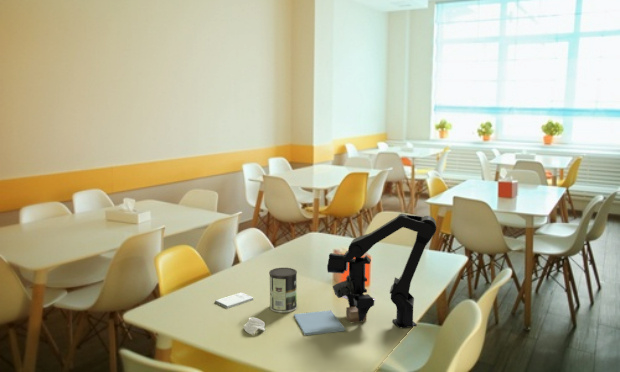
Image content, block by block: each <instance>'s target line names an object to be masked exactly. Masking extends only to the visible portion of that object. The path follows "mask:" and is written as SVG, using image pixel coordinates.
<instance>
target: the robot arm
mask: <svg viewBox="0 0 620 372" xmlns="http://www.w3.org/2000/svg"><path fill="white" fill-rule="evenodd" d="M402 228H403V229H404V228H405V229H408V230H411V231H413V232H415V233H416V237H415V241H414V243H413V246H412V247H411V248H412V249H411V250H410V253H409V256H408V258H407V261H406V263H405V266H404V268H403V270H402V273H401V275H400V277H399V278H398V277H395V276H394V280H393V284H392V285H391V286H390V290H389V294H390V300H391V303H393V305H395V307H396V318H393V319H392V322H393V323H394V324H395V325H396V326H397V327H398V328H399V329H402V328H403V329H404V328H413V327H417V326H418V325H417V323H416V322H415V321H414V303H415V297H414V296H413V295H412V294H411V293H410V289H411V283H412V281H413V277H414V275H415V272H416V270H417V269H418V266H419V263H420V260H421V258H422V256H423V253H424V250H425V249H426V246H427V245H428V243H429V242H430V241H431V240H432V238H433V237H434V235H435V233H436V231H437V222H436V220H435V218H434V217H432V215H424V216H420V215H415V214H414V215H412V214H406V213H399V214H398V215H397V216H395V218H393V219H391V220H389V221H387V222H386V223H384V224H382V225H381V226H380V227H378V228H377V229H375V230H373V231H372V232H369V233H368V234H363V235H361V236H358V237H355V238H353V239H352V240H351V242H350V243H349V246H348V250H347V251H345V253H344V254H343V253H342V254H339V253H334V252H333V253H332V252H331V253H329V254H328V260H327V261H328V262H327V266H326V267H327V273H331V274H345V272H348V275H346V279H345V280H342V281H341V282H340V281H339V282H338V283H336V284H333V285H332V290H333V292H334V294H335V296H336V297H337V298H338V299H340V298H341V299H342V298H343V296H345V295H346V296H347V299H346V300H347V302H348V307H355V306H356V308H357V309H358V317H359V321H360V322H361V323H362V322H364V321H363V319H364V318H365V316H366V314H368V312H369V310H370V309H371V308H373V306H375V301H374V299H373V298H374V297H373V298H372V296H371V295H369V294H367V292H368V290H367V288H366V282H368V278H367V277H366V265H370V264H371V262H372V259H371V258H370V257H369V256H368V255H366V253H368V252H369V251H370V250H371V249H372V248H373V246H374V245H376V244H379V242H380V241H382V240H385V239H386V238H387V237H389V236H391V235H393V234H394V233H396V232H398V231H399V230H401V229H402ZM364 255H365V256H364ZM366 317H367V316H366Z"/></svg>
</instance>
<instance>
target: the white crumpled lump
mask: <svg viewBox="0 0 620 372" xmlns="http://www.w3.org/2000/svg"><path fill="white" fill-rule="evenodd" d="M247 320H248V321H247V322H246V323H245V324H244V325H243V329H244V331H245V332H246V333H247V334H249V335H254V334H255V332H256V331H258V330H261V331H266V328H265V326H266V325H265V324H266V323H265V321H263V320H262V319H259V318H257V317H248V319H247Z"/></svg>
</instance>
